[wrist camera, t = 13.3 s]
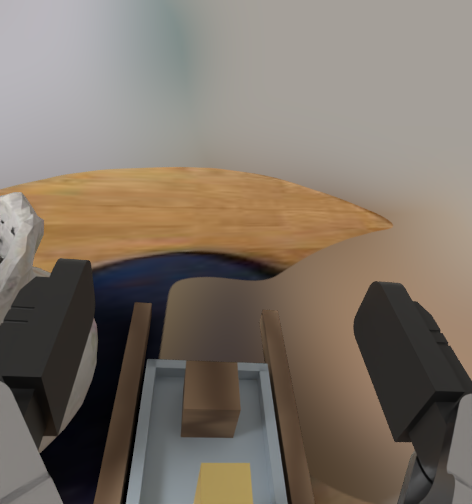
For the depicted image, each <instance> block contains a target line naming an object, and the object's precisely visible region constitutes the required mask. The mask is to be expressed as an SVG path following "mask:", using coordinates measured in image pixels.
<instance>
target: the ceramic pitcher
mask: <svg viewBox="0 0 472 504" xmlns="http://www.w3.org/2000/svg"><path fill="white" fill-rule="evenodd" d="M43 234H44V220H43V219H41V218H40V217H38V216H37V214H36V213H35V211H34V209H33V208H32V206H31V205H30V203H29V202H28V200H27V198H26V197H25V196H24V195H23V194H22V193H21V192H14V193H11V194H7V195H3V196H0V325H1V323H3V321H4V320H3V319H4V318H5V316H6V314H7V312H8V310H9V309H11V305H12V303H13V301H14V299H15V298H16V296H17V294H18V292H19V290H20V289H21V288H23V287H24V286H25V285H26V284H27V283H29V282H30V281H31V280H32V279H33V278H35V277H36V276H38V277H50V275H51V273H49V272H47V271H45V270H42V269H40V268H37V267H32V265H33V259H34V255H35V253H36V251H37V248H38V246H39V244H40V241H41V239H42V237H43ZM97 345H98V336H97V325H96V322H95V319H93V323H92V327H91V330H90V333H89V336H88V340H87V343H86V346H85V349H84V353H83V356H82V359H81V363H80V366H79V369H78V372H77V376H76V379H75V382H74V385H73V389H72V392H71V395H70V398H69V402H68V405H67V408H66V411H65V415H64V418H63V421H62V424H61V428H60V431H59V434H60V433H61V432H62V431H63V430H64V429H65V428H66V426H67V425H68V423H69V422H70V421H71V420H72V418H73V417H74V415H75V414H76V413H77V411H78V410H79V408H80V407H81V405H82V404H83V401H84V399H85V396H86V394H87V391H88V389H89V386H90V384H91V381H92V378H93V374H94V370H95V367H96V363H97ZM59 434H58V435H59ZM56 437H57V436H43V438H42V441H41V444H40V447H39V450H38V452H39V453H41V452H42V451H43V450H44V449H45V448H46V447H47V446H48V445H49V444H50V443H51V442H52V441H53V440H54V439H55V438H56Z"/></svg>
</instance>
